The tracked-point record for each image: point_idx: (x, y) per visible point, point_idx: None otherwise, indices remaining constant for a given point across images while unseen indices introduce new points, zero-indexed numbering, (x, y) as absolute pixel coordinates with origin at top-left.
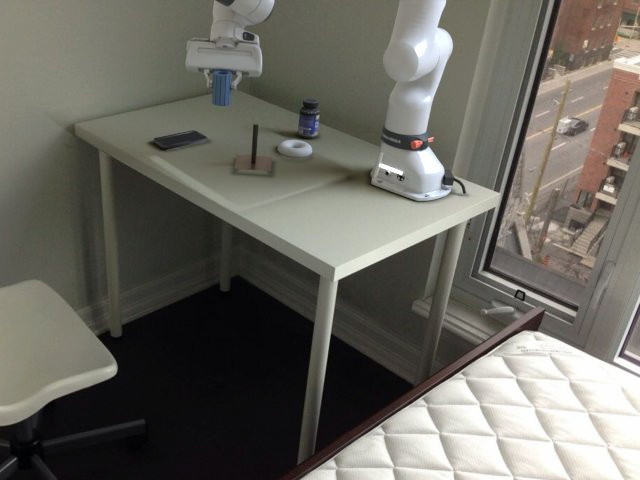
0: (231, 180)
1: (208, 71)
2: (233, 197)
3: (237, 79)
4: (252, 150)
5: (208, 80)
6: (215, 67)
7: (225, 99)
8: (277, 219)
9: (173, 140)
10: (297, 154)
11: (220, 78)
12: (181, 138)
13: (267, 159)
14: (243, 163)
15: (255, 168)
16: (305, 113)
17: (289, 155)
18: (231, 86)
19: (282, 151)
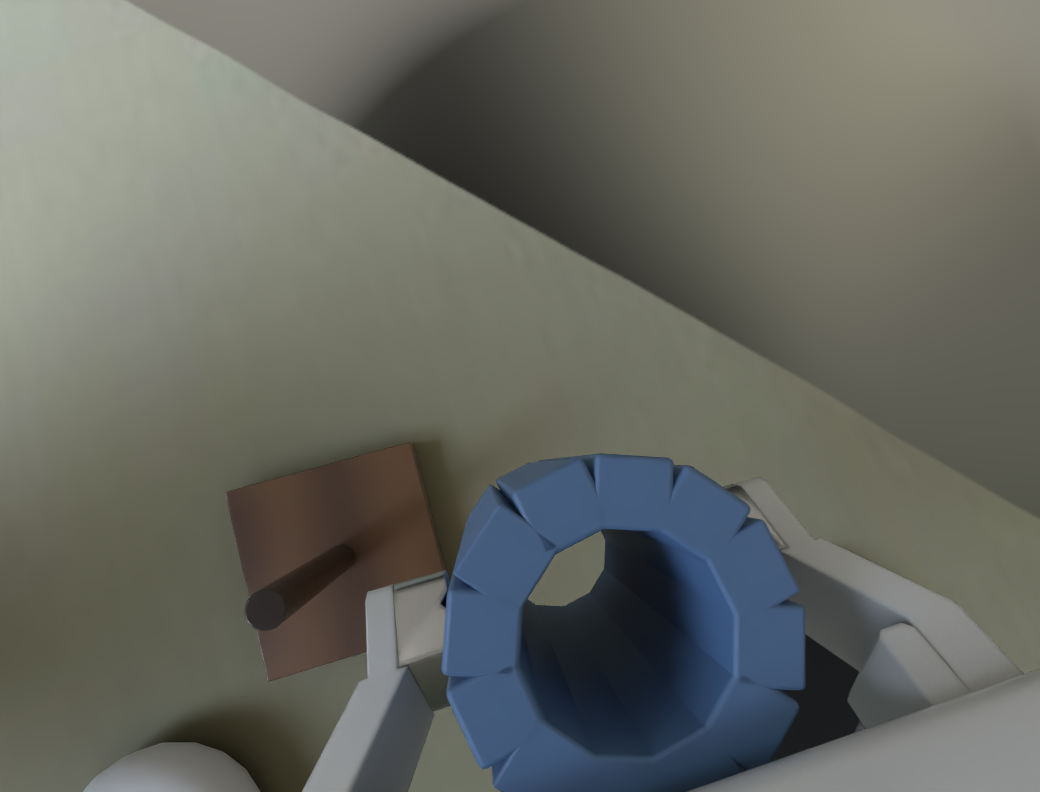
0: (399, 366)
1: (905, 653)
2: (334, 206)
3: (359, 713)
4: (329, 556)
5: (783, 525)
6: (845, 745)
7: (488, 489)
8: (100, 84)
9: (829, 667)
10: (120, 763)
11: (586, 457)
12: (806, 715)
13: (282, 636)
14: (386, 524)
15: (310, 490)
16: None
17: (174, 746)
18: (434, 574)
19: (217, 766)
